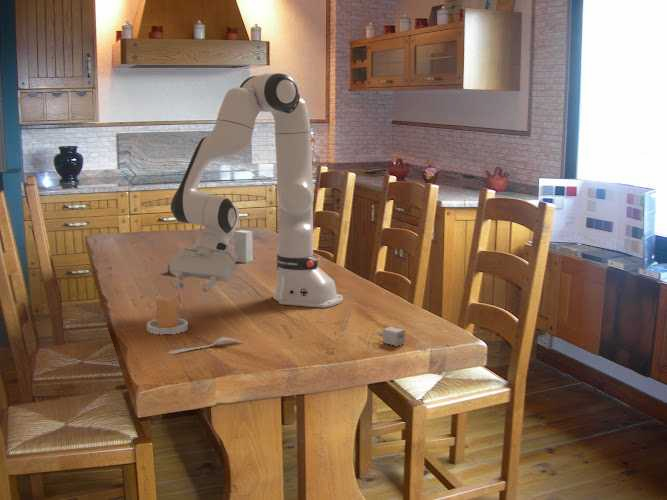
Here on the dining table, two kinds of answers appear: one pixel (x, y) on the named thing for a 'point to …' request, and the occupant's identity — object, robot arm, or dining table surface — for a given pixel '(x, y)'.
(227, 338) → the fork
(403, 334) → the usb wall charger
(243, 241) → the skincare box
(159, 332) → the ring dish
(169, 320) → the wooden toy brick
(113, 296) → the dining table surface
